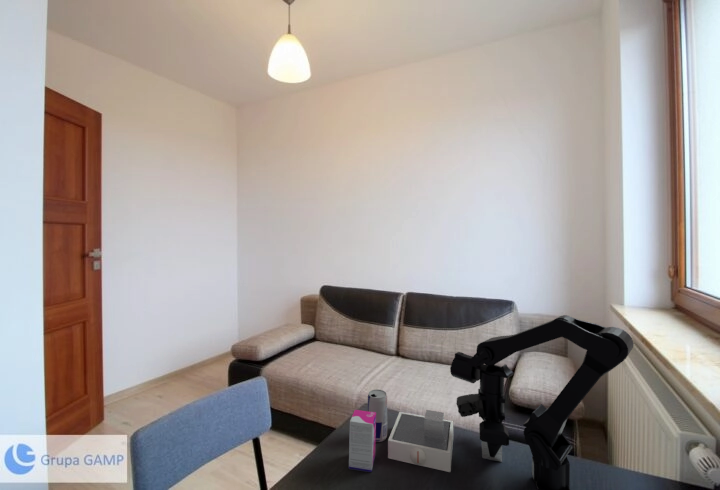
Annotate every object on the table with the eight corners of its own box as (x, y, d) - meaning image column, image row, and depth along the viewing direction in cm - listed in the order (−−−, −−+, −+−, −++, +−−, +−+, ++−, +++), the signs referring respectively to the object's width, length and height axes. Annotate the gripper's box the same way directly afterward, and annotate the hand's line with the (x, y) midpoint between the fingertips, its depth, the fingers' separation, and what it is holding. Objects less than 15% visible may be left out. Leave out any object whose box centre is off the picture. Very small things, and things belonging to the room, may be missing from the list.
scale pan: (449, 426, 87) (449, 422, 87) (446, 454, 76) (446, 450, 76) (402, 417, 92) (402, 414, 92) (392, 443, 80) (392, 439, 80)
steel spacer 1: (443, 429, 84) (443, 412, 84) (442, 439, 80) (442, 421, 80) (426, 426, 86) (426, 409, 86) (424, 436, 81) (424, 418, 81)
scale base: (453, 437, 88) (453, 421, 88) (450, 473, 74) (450, 454, 74) (399, 427, 93) (399, 411, 93) (387, 459, 79) (387, 441, 79)
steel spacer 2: (500, 450, 83) (500, 433, 82) (501, 462, 78) (502, 444, 78) (481, 447, 84) (481, 430, 84) (482, 458, 80) (482, 440, 80)
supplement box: (372, 472, 75) (372, 424, 75) (348, 469, 76) (348, 421, 76) (376, 456, 80) (376, 411, 80) (353, 453, 82) (353, 408, 81)
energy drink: (364, 433, 90) (364, 391, 90) (381, 429, 92) (381, 387, 92) (373, 444, 85) (373, 400, 85) (390, 439, 87) (390, 395, 87)
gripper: (459, 370, 92) (459, 424, 93) (457, 401, 75) (457, 467, 75) (501, 375, 89) (501, 431, 89) (509, 409, 71) (509, 479, 71)
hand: (491, 450), depth 81 cm, fingers open, 5 cm apart
